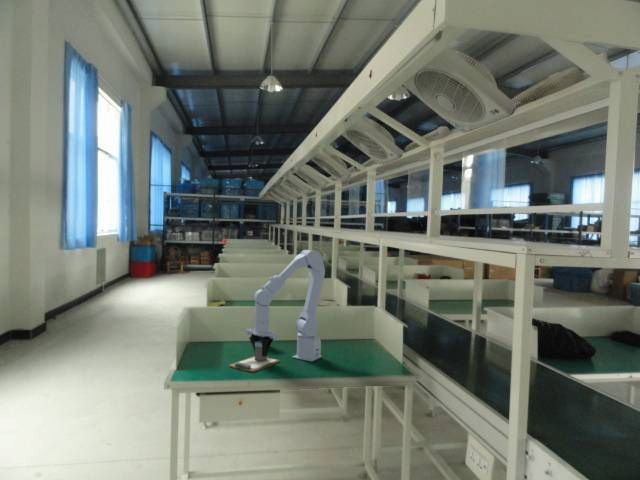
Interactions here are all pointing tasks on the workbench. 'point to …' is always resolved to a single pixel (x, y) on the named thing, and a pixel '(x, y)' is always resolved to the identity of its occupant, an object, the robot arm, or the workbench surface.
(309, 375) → the workbench surface
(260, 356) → the block
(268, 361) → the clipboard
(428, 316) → the workbench surface
